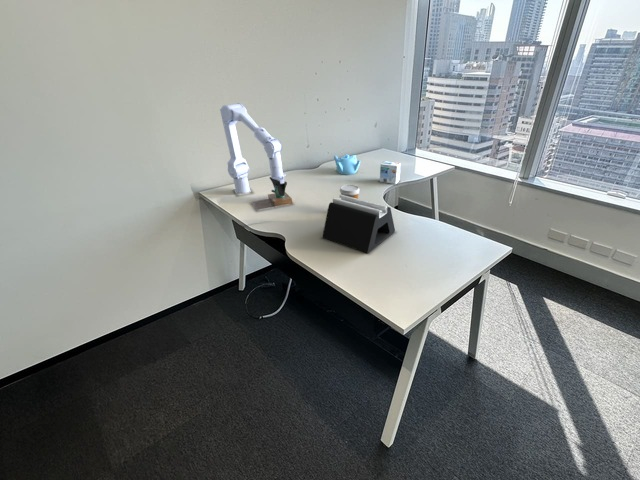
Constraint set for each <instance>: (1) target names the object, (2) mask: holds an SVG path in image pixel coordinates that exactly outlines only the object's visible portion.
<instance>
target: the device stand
mask: <svg viewBox="0 0 640 480" xmlns="http://www.w3.org/2000/svg"><path fill="white" fill-rule="evenodd" d="M338 196H339V198H336V197H333V198H332V202H329V204H328V207H327V212H326V217H325V222H324V226H323V231H322V239H326V240H328V241H330V242H334V243H337V244H340V245H342V246H346V247H349V248H352V249H355V250H357V251H361V252H364V253H365V254H370V253H371V252H372V251H373V250H374V249H376V248H377V247H378V246H380V245H381V244H382V243H383V242H384V241H385V240H387V239H388V238H389V237H391V236H393V234H394V233H395V231H396V228H395V223H394V217H393V213H392V209H391V207H390V206H386V205H382V204H378V203H375V202H371V201H367V200H363V199H359V198H358V199H356V198H352V197H348V196H344V195H341V194H339V195H338Z"/></svg>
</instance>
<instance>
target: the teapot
mask: <svg viewBox="0 0 640 480" xmlns="http://www.w3.org/2000/svg"><path fill="white" fill-rule="evenodd" d="M333 158H334V162H335V166H336V167H335V168H336V171H337V173H338V174H340V175H345V176H346V175H354V174H356V173H357V172H358V170H359V167H360V164H361V162H362V161H361V160H360V159H359V160H358V159H357V155H356V154H351V155H350V154H347V153H346V154H344V155H343V156H340V158H339V157H338V155H334V156H333Z"/></svg>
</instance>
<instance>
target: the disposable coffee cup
mask: <svg viewBox="0 0 640 480" xmlns="http://www.w3.org/2000/svg"><path fill="white" fill-rule="evenodd" d="M360 191H361V190H360V187H359V185H355V184H343V185H342V186H340V189H339V192H340V195H344V196H348V197H352V198H356V199H359V195H360Z"/></svg>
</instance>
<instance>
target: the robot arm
mask: <svg viewBox="0 0 640 480" xmlns="http://www.w3.org/2000/svg"><path fill="white" fill-rule="evenodd" d="M219 112H220V117H221V120H222V126H223V130H224V134H225V135H224V136H225V139H226V142H227V147H228V152H229V157H230V158H229V160H228V161H227V172H228V175H229V176H230V177H231V178H232V179H233V185H234V189H233V191H234V193H235V194H236V195H240V194H242V195H243V194H248V193H251V192H252V190H251V188H250V184H249V178H248V176H249V172H250V167H249V164H248V163H247V159H246V158H244V157H243V155H242V150H241V146H240V141H239V137H238V132H237V128H236V124H237V123H238V122H242V123H243V124H244V125H245V126H246V127H247V128H248V129H250V131H252V132H253V135H254V137H255V139H256V140H257V141H258V142H259V143H260V144H261V145H262V146H263V149H264V151H265V153H266V156H267V158H268V163H269V169H270V176H269V180H270V181H271V183H272V185H273V188H274V187H275V186H277V188H278V191H279V194H280V196H284V195H285V192H286V187H287V185H288V182H287V181H285V177H286V176H287V174H286V173H284V170H283V163H282V156H281V151H282V150H283V144H282V142H281V141H280V140H279V139H278V138H275V137H273V136H272V135H271V134H270V133H269V132H268V131H267V129H266V128H264V127H259V125H258V124H257V123H256V121H255V120H254V119H253V118H252V117H251V116H250V114H249V113H248V110H247V108H246V107H245V106H244V105H243V104H242V103H241V102H238V103H237V102H236V103H232V104H224V105H222V106H221V108H220V109H219Z"/></svg>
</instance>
